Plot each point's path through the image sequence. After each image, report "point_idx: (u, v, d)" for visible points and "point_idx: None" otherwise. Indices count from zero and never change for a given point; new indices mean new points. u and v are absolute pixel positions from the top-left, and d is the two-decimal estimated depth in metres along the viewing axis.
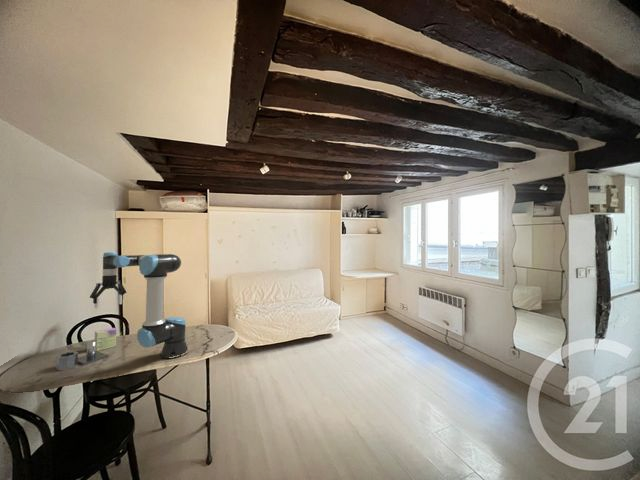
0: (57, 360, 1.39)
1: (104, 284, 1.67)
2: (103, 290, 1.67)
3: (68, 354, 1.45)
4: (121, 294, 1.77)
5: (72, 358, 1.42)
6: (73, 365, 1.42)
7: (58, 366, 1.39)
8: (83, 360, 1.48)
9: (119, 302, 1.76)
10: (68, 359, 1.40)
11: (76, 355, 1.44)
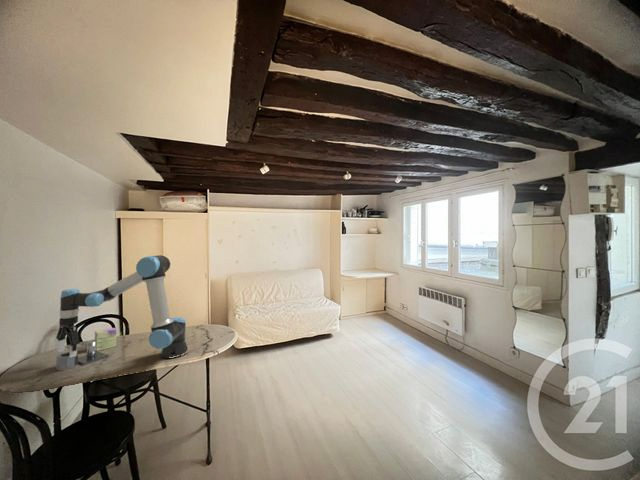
0: (57, 360, 1.39)
1: (63, 326, 1.44)
2: (61, 333, 1.44)
3: (68, 354, 1.45)
4: None
5: (72, 358, 1.42)
6: (73, 365, 1.42)
7: (58, 366, 1.39)
8: (83, 360, 1.48)
9: None
10: (68, 359, 1.40)
11: (76, 355, 1.44)
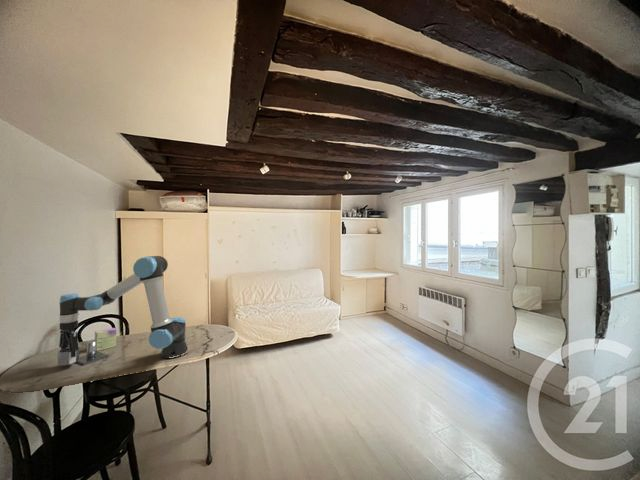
0: (58, 355, 1.40)
1: (63, 331, 1.44)
2: (63, 339, 1.43)
3: (69, 349, 1.45)
4: None
5: None
6: None
7: (59, 360, 1.39)
8: (83, 360, 1.48)
9: None
10: None
11: (77, 350, 1.45)
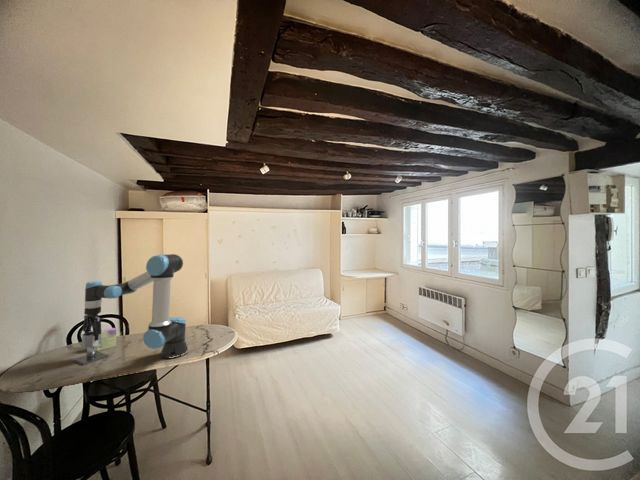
0: (83, 338, 1.50)
1: (87, 316, 1.54)
2: (87, 324, 1.53)
3: (92, 333, 1.55)
4: None
5: None
6: None
7: (84, 343, 1.49)
8: (83, 360, 1.48)
9: None
10: None
11: (100, 334, 1.55)
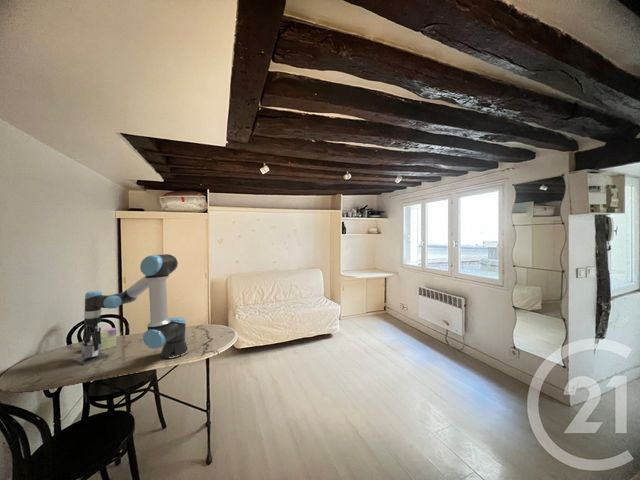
0: (82, 348, 1.50)
1: (87, 326, 1.54)
2: (87, 334, 1.53)
3: None
4: None
5: None
6: None
7: (83, 353, 1.49)
8: (83, 360, 1.48)
9: None
10: None
11: (99, 344, 1.55)
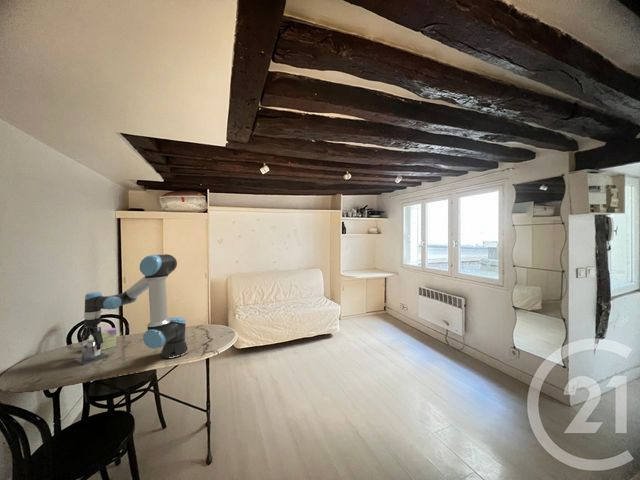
0: (82, 350, 1.50)
1: (87, 327, 1.54)
2: (86, 333, 1.54)
3: None
4: None
5: None
6: (97, 355, 1.52)
7: (84, 356, 1.49)
8: (83, 360, 1.48)
9: None
10: (93, 349, 1.50)
11: None
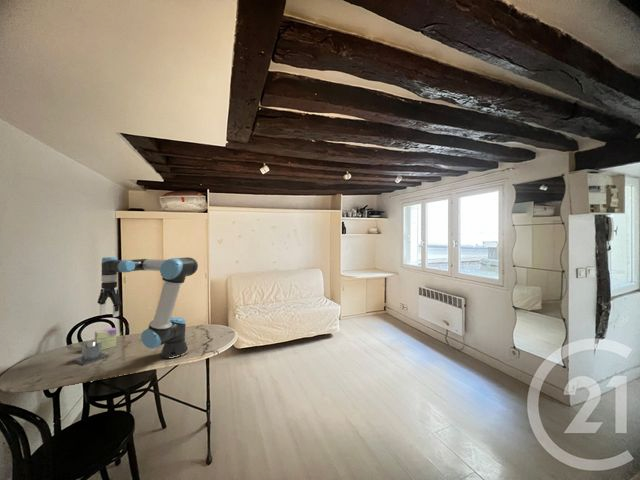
0: (82, 350, 1.50)
1: (104, 291, 1.57)
2: (103, 297, 1.57)
3: None
4: None
5: (96, 349, 1.52)
6: (97, 355, 1.52)
7: (84, 356, 1.49)
8: (83, 360, 1.48)
9: None
10: (93, 349, 1.50)
11: (99, 346, 1.54)
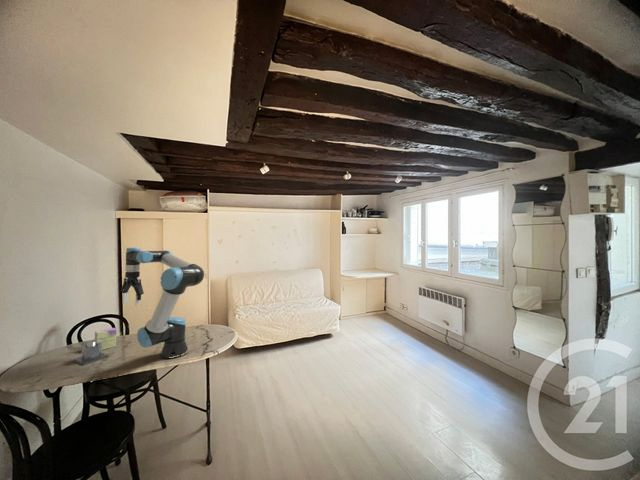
0: (82, 350, 1.50)
1: (127, 280, 1.63)
2: (126, 286, 1.63)
3: None
4: None
5: (96, 349, 1.52)
6: (97, 355, 1.52)
7: (84, 356, 1.49)
8: (83, 360, 1.48)
9: None
10: (93, 349, 1.50)
11: (99, 346, 1.54)
